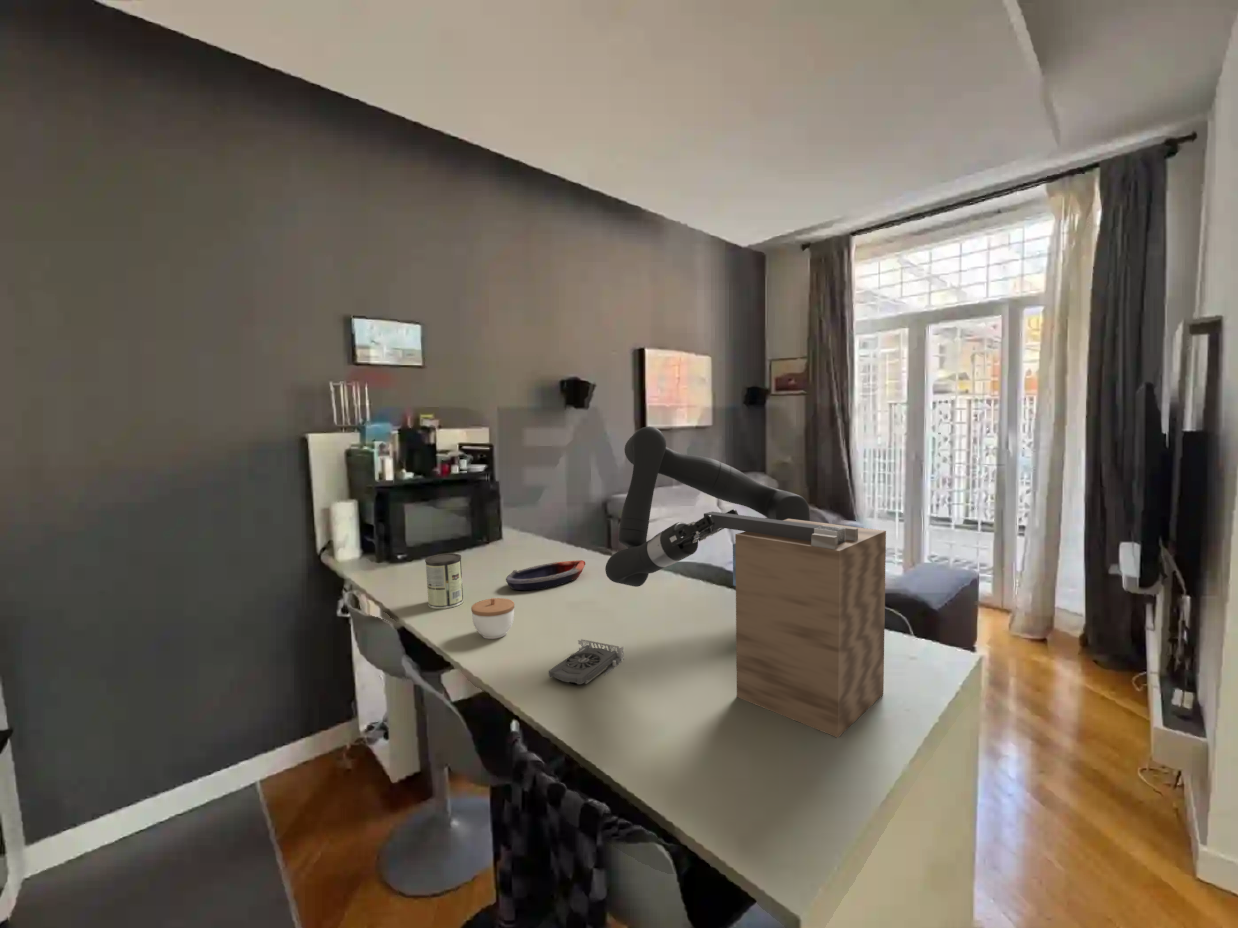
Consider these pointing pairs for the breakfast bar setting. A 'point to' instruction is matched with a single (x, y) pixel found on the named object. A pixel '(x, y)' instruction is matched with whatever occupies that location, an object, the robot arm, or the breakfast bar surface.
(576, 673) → the graphics card
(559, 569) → the dish
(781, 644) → the cabinet
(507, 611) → the lidded jar
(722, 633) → the breakfast bar surface
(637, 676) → the breakfast bar surface
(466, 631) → the breakfast bar surface
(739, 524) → the dark gray rectangular panel
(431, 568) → the coffee can
